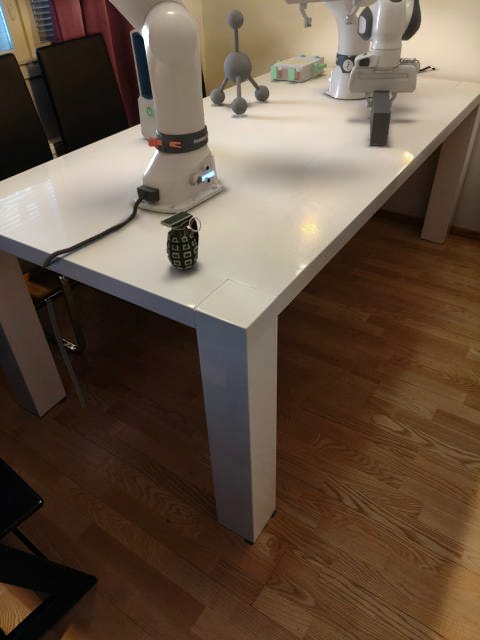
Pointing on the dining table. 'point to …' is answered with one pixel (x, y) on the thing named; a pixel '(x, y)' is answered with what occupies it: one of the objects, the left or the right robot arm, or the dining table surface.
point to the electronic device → (144, 87)
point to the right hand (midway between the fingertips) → (378, 107)
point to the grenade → (182, 240)
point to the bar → (380, 117)
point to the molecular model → (238, 71)
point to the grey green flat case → (298, 68)
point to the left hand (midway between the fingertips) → (328, 25)
